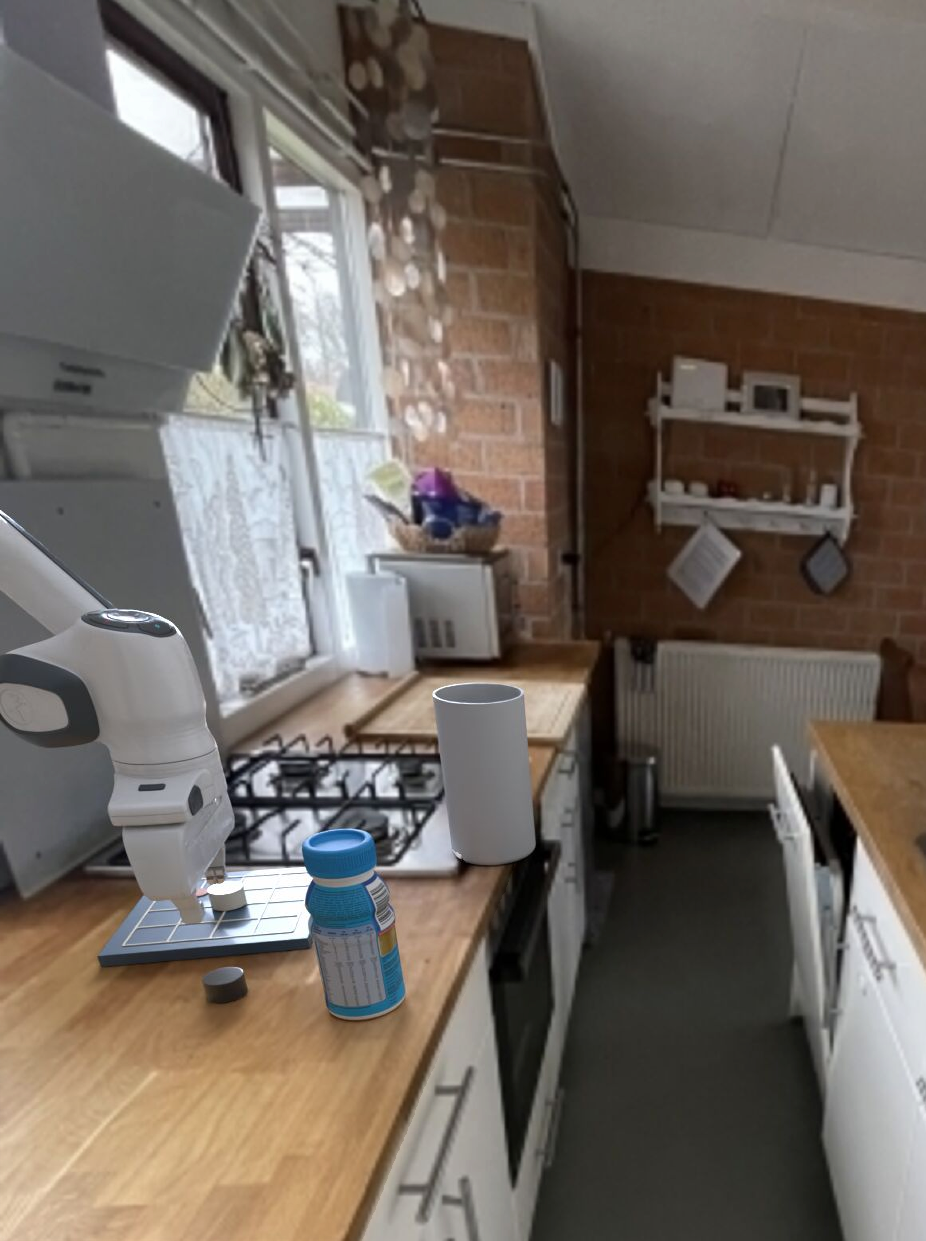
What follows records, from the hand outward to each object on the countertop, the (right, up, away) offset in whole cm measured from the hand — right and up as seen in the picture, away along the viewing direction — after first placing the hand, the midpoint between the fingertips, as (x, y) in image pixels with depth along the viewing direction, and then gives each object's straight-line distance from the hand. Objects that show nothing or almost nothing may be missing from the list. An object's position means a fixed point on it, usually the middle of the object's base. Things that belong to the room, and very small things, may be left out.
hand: (207, 900), depth 95 cm
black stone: (-1, -11, +4) cm, 12 cm away
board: (-10, -2, +20) cm, 23 cm away
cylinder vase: (+16, +8, +43) cm, 47 cm away
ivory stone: (-10, -1, +19) cm, 22 cm away
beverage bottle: (+15, -12, +5) cm, 20 cm away
